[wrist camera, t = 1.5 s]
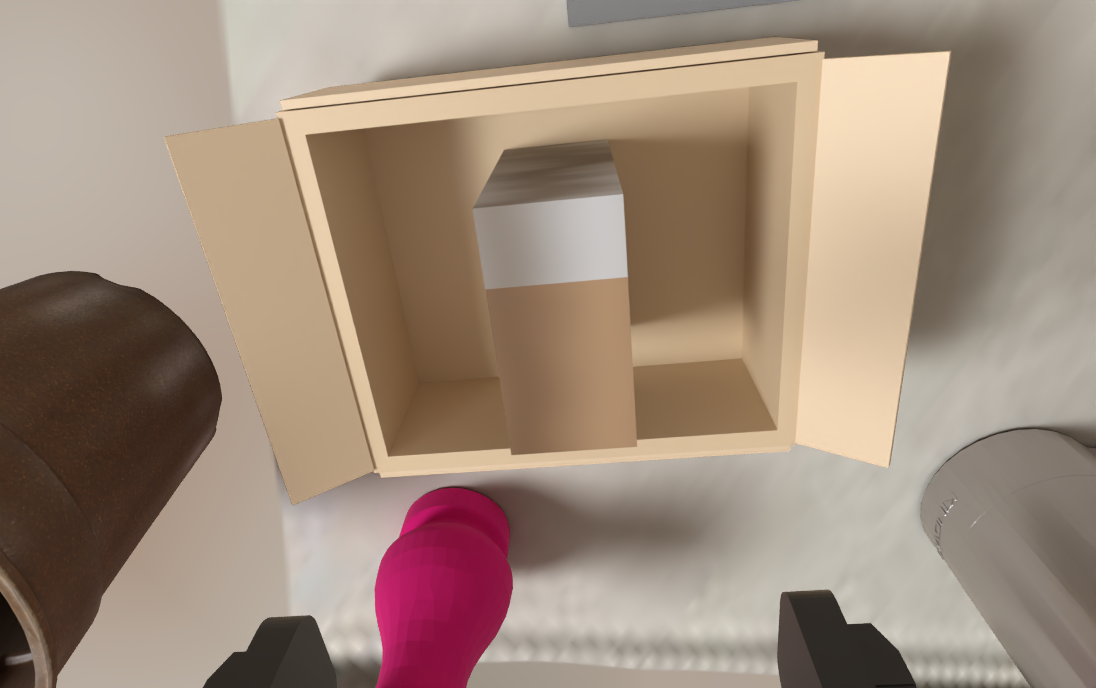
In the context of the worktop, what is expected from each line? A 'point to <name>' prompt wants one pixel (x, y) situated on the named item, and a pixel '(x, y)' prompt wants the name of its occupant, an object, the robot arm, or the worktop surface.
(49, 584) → the plant pot
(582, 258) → the block
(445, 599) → the pepper mill
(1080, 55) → the worktop surface
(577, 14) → the plate
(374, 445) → the carton
